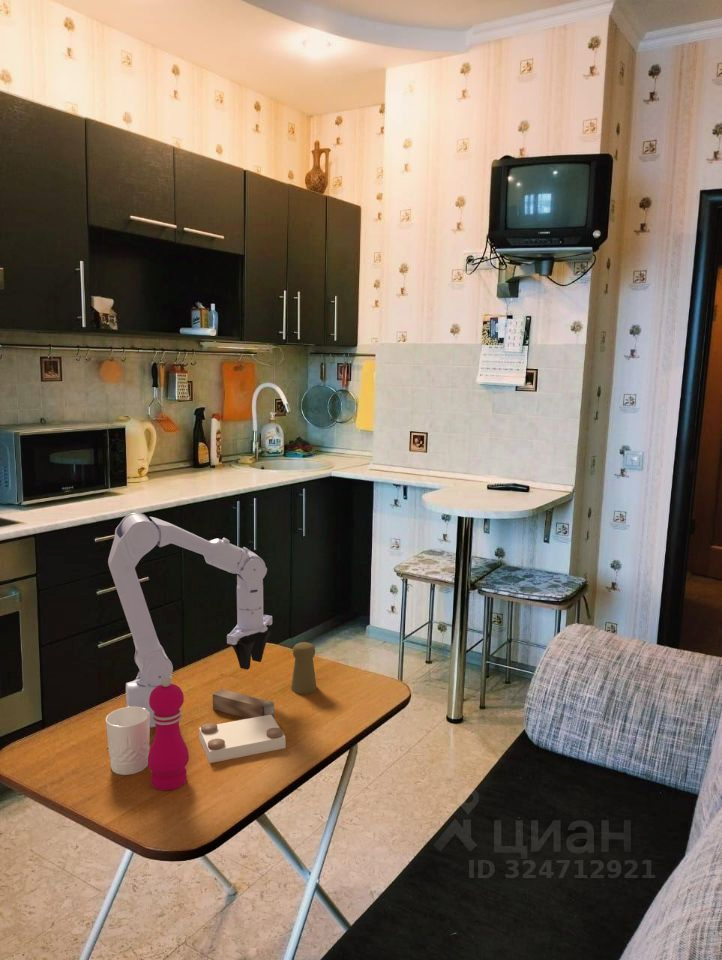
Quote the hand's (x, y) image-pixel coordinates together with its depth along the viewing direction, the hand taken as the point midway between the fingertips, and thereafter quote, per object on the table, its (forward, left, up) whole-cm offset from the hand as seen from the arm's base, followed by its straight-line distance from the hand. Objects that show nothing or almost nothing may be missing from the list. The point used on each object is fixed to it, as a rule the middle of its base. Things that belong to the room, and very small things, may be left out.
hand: (250, 664), depth 166 cm
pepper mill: (-22, -26, -9) cm, 35 cm away
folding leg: (-3, -6, -8) cm, 11 cm away
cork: (+13, +1, -9) cm, 15 cm away
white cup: (-28, -18, -9) cm, 35 cm away
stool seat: (-7, -18, -8) cm, 21 cm away
